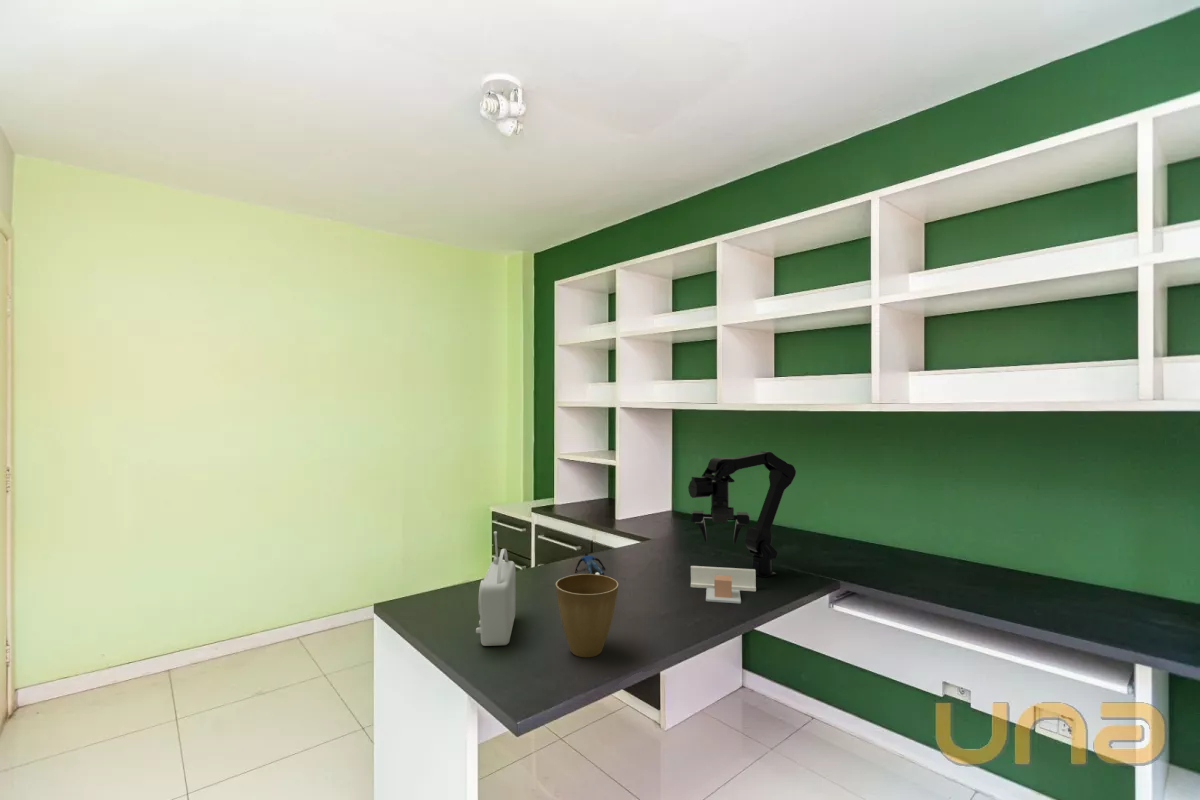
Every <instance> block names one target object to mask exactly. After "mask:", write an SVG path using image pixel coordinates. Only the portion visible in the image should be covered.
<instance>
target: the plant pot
mask: <svg viewBox="0 0 1200 800" xmlns="http://www.w3.org/2000/svg"><path fill="white" fill-rule="evenodd" d="M618 589H619V582H618V581H617V580H616V579H614V578H612V577H610V576H608V575H604V576H603V575H601V574H600V575H596V573H595V574H593V573H592V574H590V573H578V574H572V575H567V576H564V577H561V578H559V579H558V580H557V581H556V582H555V590H556V597H557V605H558V610H559V617H560V621H561V625H562V629H563V632H564V635H565V638H566V639H565V640H566V641H567V644H568V647H569V650H570V652H571V653H572V654H573V655H574V656H577V657H580V658H592V657H596V656H599V655H600V654H601V653H602V651H603V648H604V646H605V643H606V641H607V637H608V635H609V631H610V628H611V625H612V620H613V617H614V613H615V608H616V607H615V606H616V603H617V598H618V597H617V596H618Z"/></svg>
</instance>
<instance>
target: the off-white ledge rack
mask: <svg viewBox="0 0 1200 800" xmlns="http://www.w3.org/2000/svg"><path fill="white" fill-rule="evenodd" d="M715 575H726V576H731V577H732V590H740V591H745V592H757V587H756V583H757V582H756V580H757V579H756V578H757V577H756V576H757V575H756V571H755V569H752V568H738V567H737V568H735V567H719V566H718V567H717V566H703V565H702V566H700V565H690V588H698V589H707V588H715V587H714V579H715Z"/></svg>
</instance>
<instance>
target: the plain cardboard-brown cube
mask: <svg viewBox="0 0 1200 800" xmlns="http://www.w3.org/2000/svg"><path fill="white" fill-rule="evenodd" d="M714 587H715V597H726V598H732V577H731V576H726V575H715V579H714Z"/></svg>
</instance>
